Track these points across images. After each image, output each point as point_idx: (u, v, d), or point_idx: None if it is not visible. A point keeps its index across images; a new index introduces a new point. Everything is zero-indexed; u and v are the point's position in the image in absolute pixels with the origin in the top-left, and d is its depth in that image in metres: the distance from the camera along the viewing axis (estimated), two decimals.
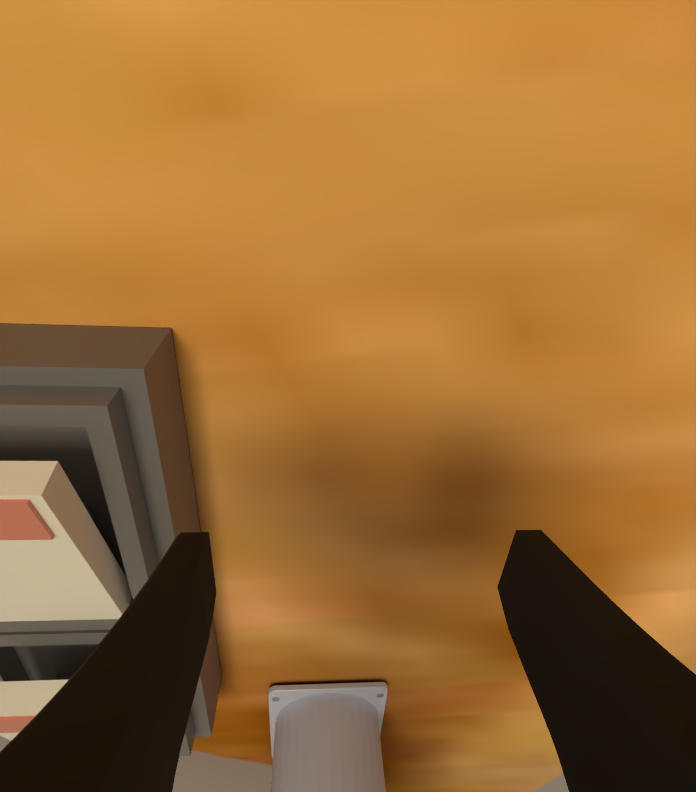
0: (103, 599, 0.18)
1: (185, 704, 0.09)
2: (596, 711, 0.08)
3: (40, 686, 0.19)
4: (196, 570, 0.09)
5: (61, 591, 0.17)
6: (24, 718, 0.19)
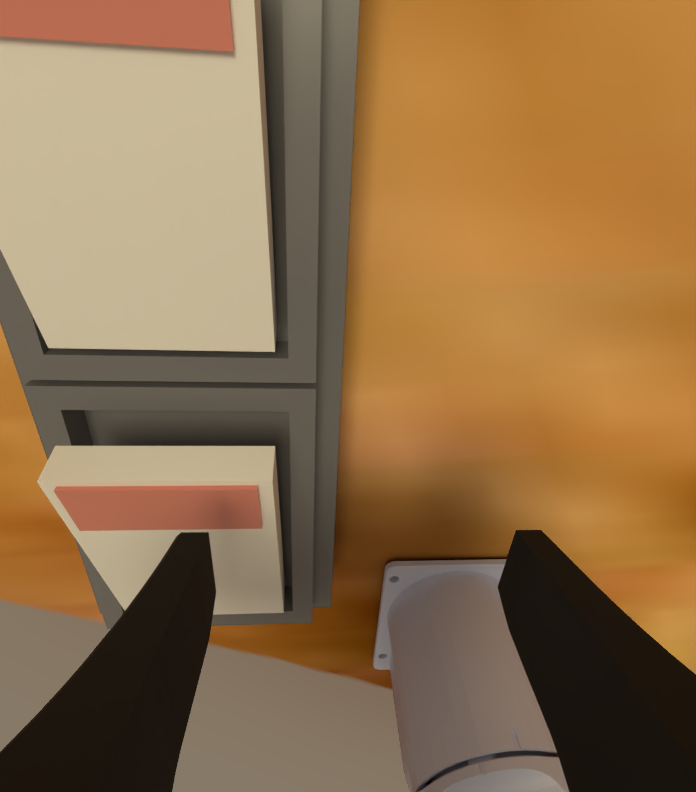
0: (259, 289, 0.12)
1: (185, 704, 0.09)
2: (596, 711, 0.08)
3: (149, 452, 0.13)
4: (196, 570, 0.09)
5: (201, 260, 0.11)
6: (131, 489, 0.12)
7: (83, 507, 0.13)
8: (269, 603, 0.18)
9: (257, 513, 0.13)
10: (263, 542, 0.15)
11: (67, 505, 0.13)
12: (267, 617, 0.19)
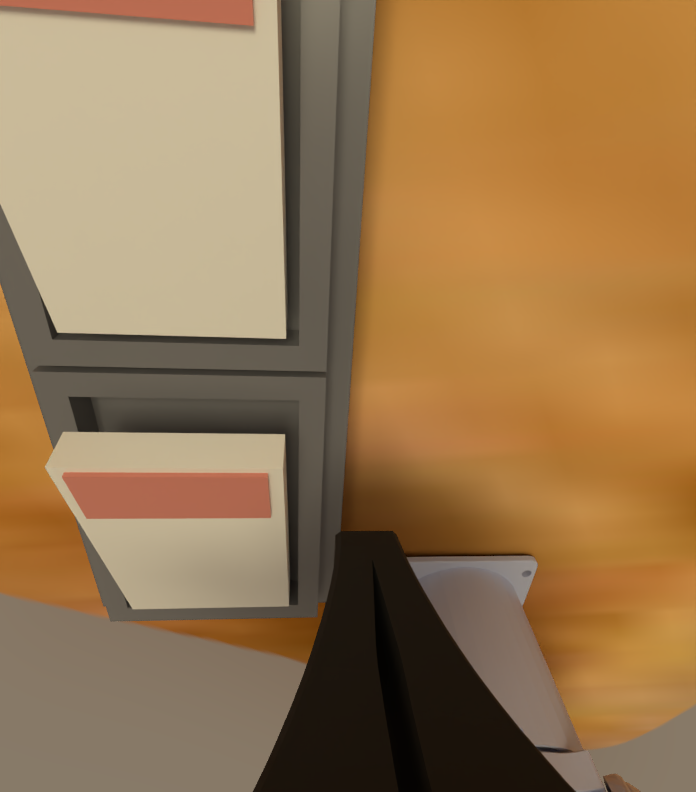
0: (272, 273, 0.12)
1: None
2: (396, 719, 0.08)
3: (158, 439, 0.13)
4: None
5: (214, 243, 0.11)
6: (139, 475, 0.12)
7: (90, 494, 0.13)
8: (275, 596, 0.18)
9: (266, 502, 0.13)
10: (271, 533, 0.15)
11: (75, 492, 0.12)
12: (272, 611, 0.19)
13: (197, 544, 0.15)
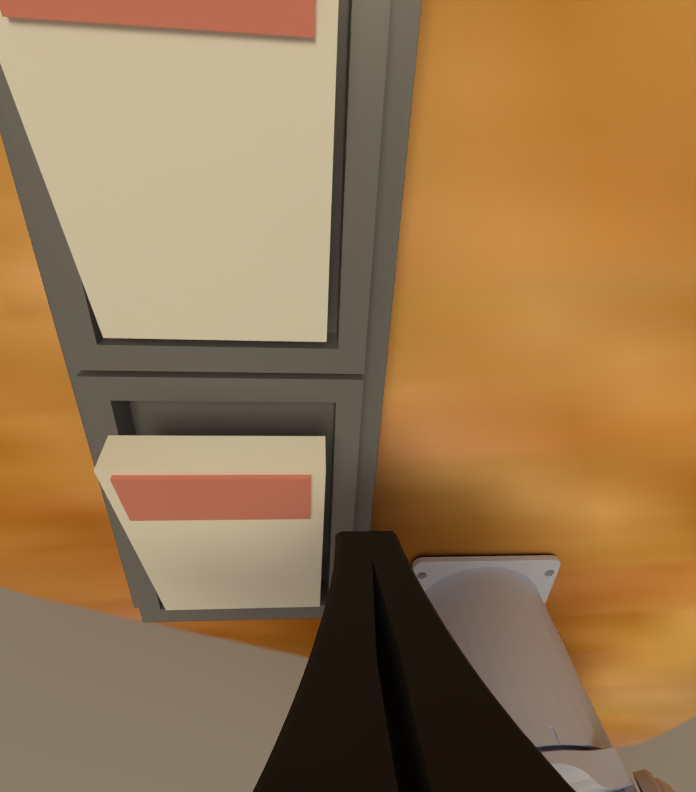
0: (316, 278, 0.12)
1: None
2: (396, 719, 0.08)
3: (201, 442, 0.13)
4: None
5: (262, 248, 0.11)
6: (185, 478, 0.12)
7: (136, 496, 0.13)
8: (306, 596, 0.18)
9: (307, 503, 0.13)
10: (309, 533, 0.15)
11: (121, 494, 0.13)
12: (302, 611, 0.19)
13: (236, 545, 0.15)
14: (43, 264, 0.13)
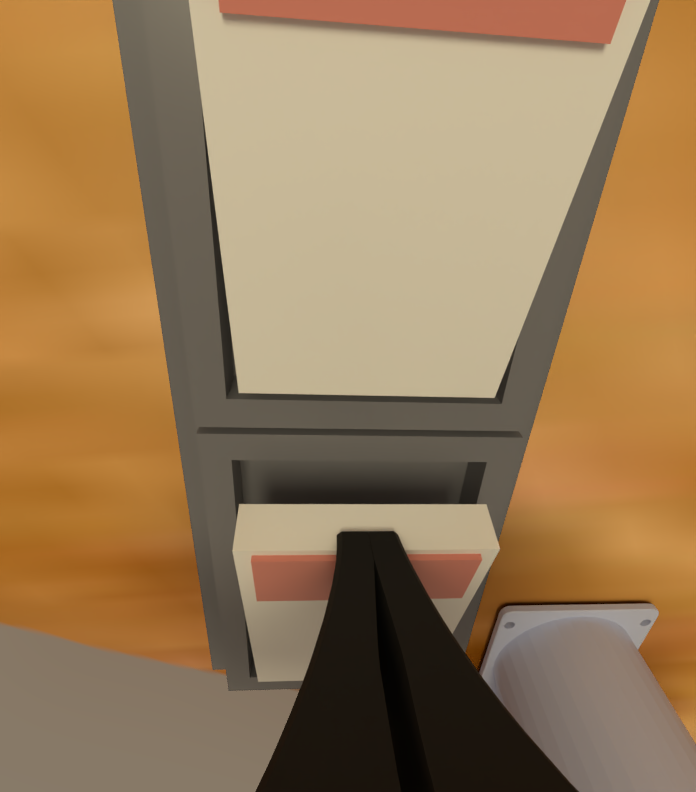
0: (507, 329, 0.10)
1: None
2: (398, 719, 0.08)
3: (347, 512, 0.11)
4: None
5: (454, 296, 0.09)
6: None
7: (274, 577, 0.11)
8: None
9: (467, 583, 0.11)
10: (449, 610, 0.13)
11: (258, 576, 0.11)
12: None
13: None
14: (164, 304, 0.11)
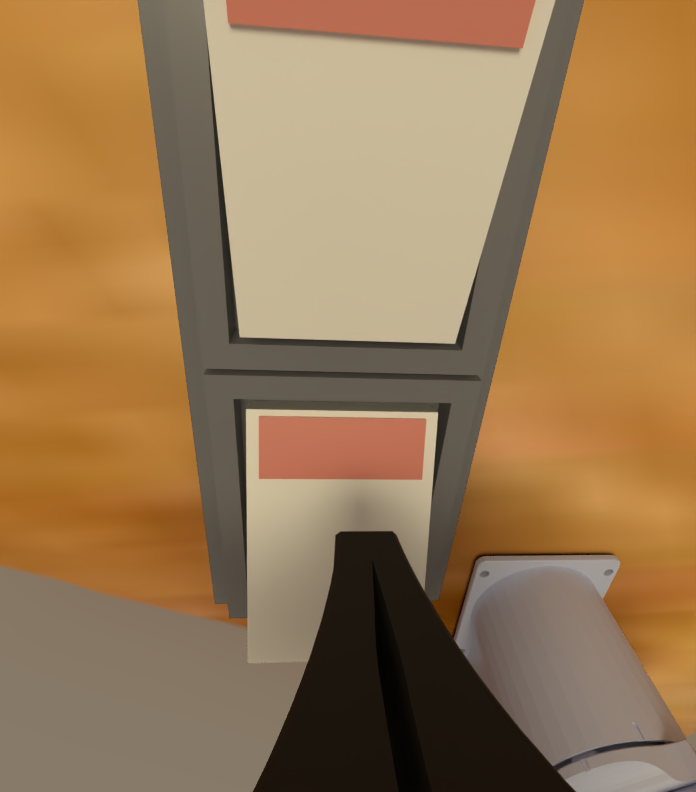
0: (461, 281, 0.12)
1: None
2: (396, 719, 0.08)
3: None
4: None
5: (416, 251, 0.11)
6: (321, 418, 0.15)
7: (274, 441, 0.15)
8: None
9: (421, 454, 0.15)
10: (417, 509, 0.16)
11: (262, 438, 0.14)
12: None
13: (345, 528, 0.15)
14: (177, 263, 0.13)
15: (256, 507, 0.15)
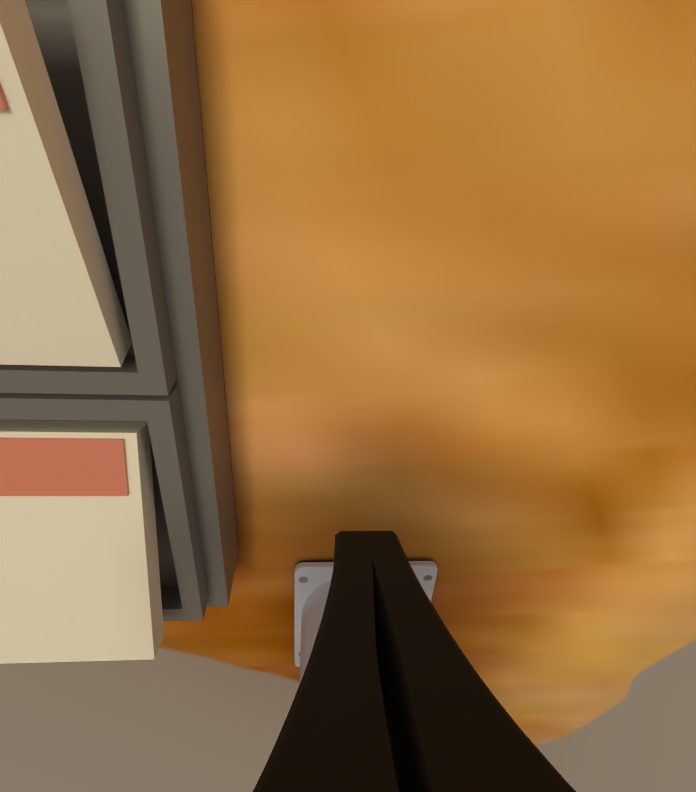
0: (89, 311, 0.13)
1: None
2: (396, 719, 0.08)
3: (43, 423, 0.16)
4: None
5: (28, 285, 0.12)
6: (17, 439, 0.15)
7: None
8: (138, 638, 0.17)
9: (122, 472, 0.16)
10: (130, 523, 0.16)
11: None
12: None
13: (61, 541, 0.16)
14: None
15: None
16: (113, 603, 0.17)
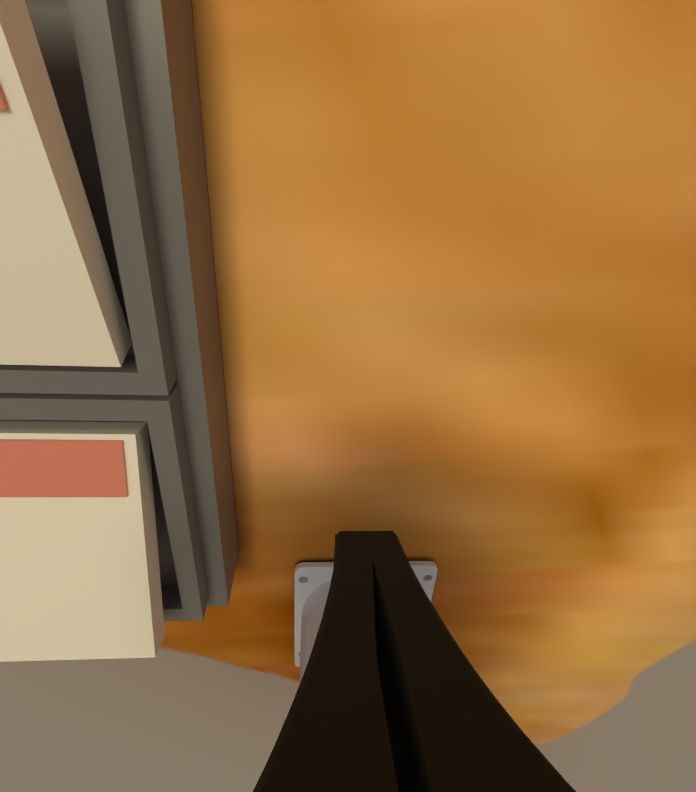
0: (89, 311, 0.13)
1: None
2: (396, 719, 0.08)
3: (41, 424, 0.16)
4: None
5: (28, 285, 0.12)
6: (16, 440, 0.15)
7: None
8: (139, 637, 0.18)
9: (122, 474, 0.16)
10: (130, 524, 0.16)
11: None
12: None
13: (61, 541, 0.16)
14: None
15: None
16: (114, 602, 0.17)
